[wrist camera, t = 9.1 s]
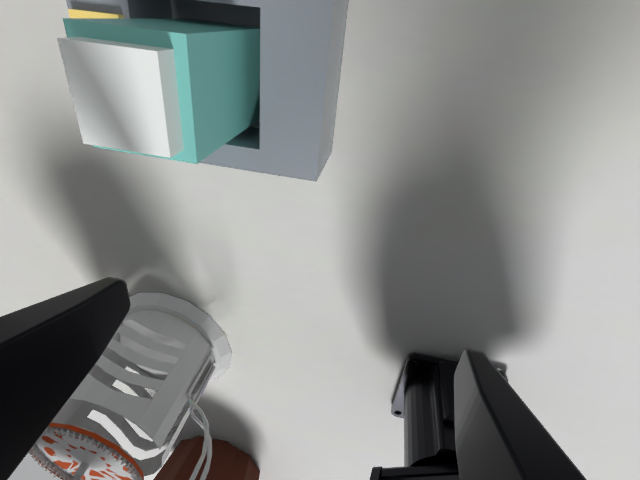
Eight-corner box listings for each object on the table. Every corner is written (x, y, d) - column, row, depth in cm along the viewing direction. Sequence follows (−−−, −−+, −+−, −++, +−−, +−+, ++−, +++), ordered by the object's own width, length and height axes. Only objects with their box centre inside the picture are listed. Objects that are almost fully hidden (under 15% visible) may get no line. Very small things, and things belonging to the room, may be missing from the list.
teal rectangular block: (265, 115, 18) (184, 172, 11) (194, 104, 18) (74, 154, 11) (266, 28, 16) (170, 35, 9) (187, 18, 16) (38, 18, 9)
